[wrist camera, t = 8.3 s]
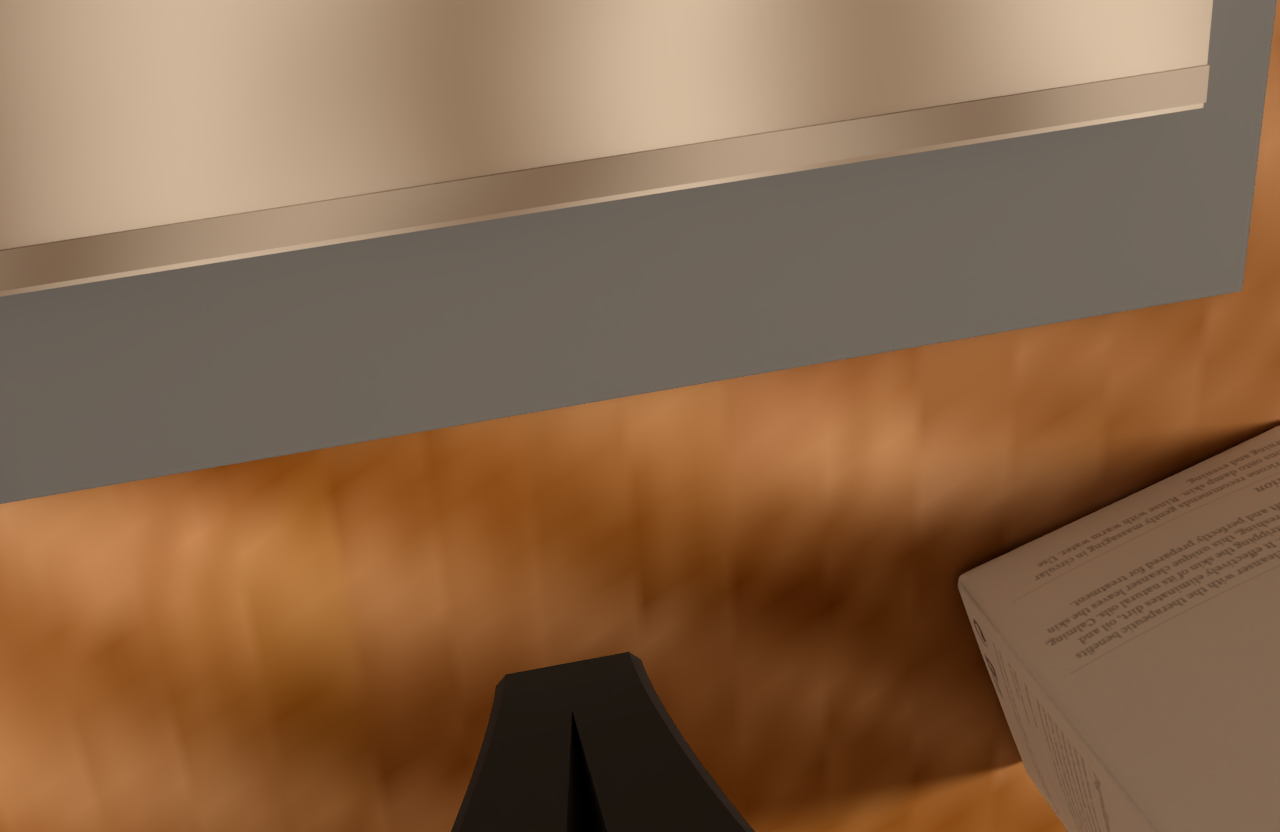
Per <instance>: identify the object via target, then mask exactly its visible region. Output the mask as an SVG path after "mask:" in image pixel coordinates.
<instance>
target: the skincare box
mask: <svg viewBox="0 0 1280 832" xmlns="http://www.w3.org/2000/svg"><path fill="white" fill-rule="evenodd" d="M958 589H959V592H960V595H961V597H962V600H963V603H964V606H965V609H966V612H967V615H968V618H969V620H970V623H971V626H972V629H973V632H974V634H975V637H976V640H977V643H978V646H979V648H980V651H981V654H982V657H983V659H984V662H985V665H986V667H987V670H988V672H989V675H990V677H991V680H992V683H993V685H994V688H995V690H996V693H997V696H998V698H999V701H1000V704H1001V707H1002V709H1003V712H1004V715H1005V717H1006V720H1007V723H1008V726H1009V728H1010V731H1011V733H1012V736H1013V738H1014V741H1015V743H1016V746H1017V749H1018V751H1019V754H1020V756H1021V759H1022V761H1023V764H1024V766H1025V769H1026V771H1027V774H1028V775H1029V777H1030V778H1031V779H1032V781H1033V782H1034V784H1035V785H1036V787H1037V788H1038V789H1039V791H1040V792H1041V794H1042V795H1043V797H1044V798H1045V799H1046V801H1047V802H1048V804H1049V805H1050V807H1051V808H1052V809H1053V811H1054V812H1055V814H1056V815H1057V816H1058V818H1059V819H1060V821H1061V822H1062V824H1063V825H1064V826H1065V828H1066V829H1067V831H1068V832H1280V425H1279V426H1277V427H1275V428H1272V429H1270V430H1268V431H1266V432H1264V433H1262V434H1260V435H1258V436H1256V437H1254V438H1251V439H1249V440H1247V441H1245V442H1243V443H1241V444H1239V445H1237V446H1234V447H1232V448H1230V449H1228V450H1226V451H1224V452H1222V453H1220V454H1217V455H1215V456H1213V457H1211V458H1209V459H1207V460H1205V461H1203V462H1200V463H1198V464H1196V465H1194V466H1192V467H1190V468H1188V469H1186V470H1183V471H1181V472H1179V473H1177V474H1175V475H1173V476H1171V477H1168V478H1166V479H1164V480H1162V481H1160V482H1158V483H1156V484H1153V485H1151V486H1149V487H1147V488H1145V489H1143V490H1141V491H1138V492H1136V493H1134V494H1132V495H1130V496H1128V497H1126V498H1123V499H1121V500H1119V501H1117V502H1115V503H1113V504H1111V505H1108V506H1106V507H1104V508H1102V509H1100V510H1098V511H1096V512H1093V513H1091V514H1089V515H1087V516H1085V517H1083V518H1081V519H1078V520H1076V521H1074V522H1072V523H1070V524H1068V525H1066V526H1063V527H1061V528H1059V529H1057V530H1055V531H1053V532H1050V533H1048V534H1046V535H1044V536H1042V537H1040V538H1037V539H1035V540H1033V541H1031V542H1029V543H1027V544H1024V545H1022V546H1020V547H1018V548H1016V549H1014V550H1012V551H1010V552H1008V553H1006V554H1004V555H1002V556H999V557H997V558H995V559H993V560H991V561H988V562H986V563H984V564H982V565H980V566H978V567H976V568H974V569H971V570H969V571H967V572H965V573H963V574H962V575H961V576H960V577H959V580H958Z"/></svg>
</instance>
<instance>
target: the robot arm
mask: <svg viewBox="0 0 1280 832" xmlns="http://www.w3.org/2000/svg"><path fill="white" fill-rule="evenodd" d="M451 832H755V831H754V830H753V829H752V828H751V827H750V825H749V824H748V823H747V822H746V821H745V819H744V818H743V817H742V816H741V814H740V813H739V812H738V811H737V810H736V808H735V807H734V806H733V805H732V803H731V802H730V801H729V800H728V798H727V797H726V796H725V794H724V793H723V792H722V790H721V789H720V788H719V786H718V785H717V784H716V782H715V781H714V780H713V778H712V777H711V776H710V774H709V773H708V772H707V770H706V769H705V768H704V766H703V765H702V764H701V762H700V761H699V760H698V758H697V757H696V755H695V754H694V753H693V751H692V750H691V748H690V747H689V745H688V744H687V742H686V741H685V740H684V738H683V736H682V735H681V733H680V732H679V730H678V729H677V727H676V725H675V724H674V722H673V721H672V719H671V718H670V716H669V714H668V713H667V711H666V710H665V708H664V706H663V704H662V703H661V701H660V699H659V697H658V696H657V694H656V692H655V690H654V688H653V686H652V684H651V682H650V680H649V678H648V676H647V674H646V671H645V669H644V666H643V664H642V661H641V659H639V658H637V657H636V656H634V655H633V654H631V653H630V652H626V653H621V654H615V655H610V656H605V657H599V658H594V659H588V660H583V661H577V662H572V663H567V664H561V665H556V666H550V667H545V668H539V669H534V670H529V671H523V672H518V673H512V674H507V675H505V676H504V678H503V679H502V680H501V681H500V682H499V684H498V685H497V686H496V691H495V697H494V702H493V707H492V711H491V715H490V719H489V723H488V727H487V731H486V734H485V737H484V741H483V744H482V748H481V751H480V754H479V757H478V760H477V763H476V766H475V769H474V772H473V775H472V778H471V781H470V784H469V786H468V789H467V791H466V794H465V797H464V799H463V802H462V805H461V807H460V810H459V813H458V815H457V818H456V820H455V823H454V826H453V828H452V831H451Z"/></svg>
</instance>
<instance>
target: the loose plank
mask: <svg viewBox="0 0 1280 832" xmlns="http://www.w3.org/2000/svg"><path fill="white" fill-rule="evenodd" d="M1212 7H1213V0H0V297H1V296H8V295H14V294H20V293H27V292H33V291H40V290H46V289H52V288H59V287H65V286H71V285H78V284H84V283H91V282H97V281H103V280H110V279H116V278H122V277H129V276H135V275H141V274H148V273H154V272H161V271H167V270H173V269H180V268H186V267H192V266H199V265H205V264H212V263H218V262H224V261H231V260H237V259H243V258H250V257H256V256H263V255H269V254H275V253H282V252H288V251H294V250H301V249H307V248H313V247H320V246H326V245H333V244H339V243H345V242H352V241H358V240H364V239H371V238H377V237H384V236H390V235H396V234H403V233H409V232H415V231H422V230H428V229H435V228H441V227H447V226H454V225H460V224H466V223H473V222H479V221H485V220H492V219H498V218H505V217H511V216H517V215H524V214H530V213H536V212H543V211H549V210H556V209H562V208H568V207H575V206H581V205H587V204H594V203H600V202H607V201H613V200H619V199H626V198H632V197H638V196H645V195H651V194H657V193H664V192H670V191H677V190H683V189H689V188H696V187H702V186H708V185H715V184H721V183H728V182H734V181H740V180H747V179H753V178H759V177H766V176H772V175H779V174H785V173H791V172H798V171H804V170H810V169H817V168H823V167H830V166H836V165H842V164H849V163H855V162H861V161H868V160H874V159H880V158H887V157H893V156H900V155H906V154H912V153H919V152H925V151H931V150H938V149H944V148H951V147H957V146H963V145H970V144H976V143H982V142H989V141H995V140H1002V139H1008V138H1014V137H1021V136H1027V135H1033V134H1040V133H1046V132H1052V131H1059V130H1065V129H1072V128H1078V127H1084V126H1091V125H1097V124H1103V123H1110V122H1116V121H1123V120H1129V119H1135V118H1142V117H1148V116H1154V115H1161V114H1167V113H1174V112H1180V111H1186V110H1193V109H1199V108H1203V104H1204V103H1206V100H1207V89H1208V78H1209V68H1210V65H1207V61H1208V50H1209V39H1210V29H1211V18H1212Z"/></svg>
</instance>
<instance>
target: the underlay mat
mask: <svg viewBox="0 0 1280 832" xmlns="http://www.w3.org/2000/svg"><path fill="white" fill-rule="evenodd" d="M1276 2H1277V0H1213V7H1212V18H1211V29H1210V39H1209V50H1208V61H1207V65H1210V68H1209V78H1208V89H1207V100H1206V103H1204V104H1203V108H1199V109H1193V110H1186V111H1180V112H1174V113H1167V114H1161V115H1154V116H1148V117H1142V118H1135V119H1129V120H1123V121H1116V122H1110V123H1103V124H1097V125H1091V126H1084V127H1078V128H1072V129H1065V130H1059V131H1052V132H1046V133H1040V134H1033V135H1027V136H1021V137H1014V138H1008V139H1002V140H995V141H989V142H982V143H976V144H970V145H963V146H957V147H951V148H944V149H938V150H931V151H925V152H919V153H912V154H906V155H900V156H893V157H887V158H880V159H874V160H868V161H861V162H855V163H849V164H842V165H836V166H830V167H823V168H817V169H810V170H804V171H798V172H791V173H785V174H779V175H772V176H766V177H759V178H753V179H747V180H740V181H734V182H728V183H721V184H715V185H708V186H702V187H696V188H689V189H683V190H677V191H670V192H664V193H657V194H651V195H645V196H638V197H632V198H626V199H619V200H613V201H607V202H600V203H594V204H587V205H581V206H575V207H568V208H562V209H556V210H549V211H543V212H536V213H530V214H524V215H517V216H511V217H505V218H498V219H492V220H485V221H479V222H473V223H466V224H460V225H454V226H447V227H441V228H435V229H428V230H422V231H415V232H409V233H403V234H396V235H390V236H384V237H377V238H371V239H364V240H358V241H352V242H345V243H339V244H333V245H326V246H320V247H313V248H307V249H301V250H294V251H288V252H282V253H275V254H269V255H263V256H256V257H250V258H243V259H237V260H231V261H224V262H218V263H212V264H205V265H199V266H192V267H186V268H180V269H173V270H167V271H161V272H154V273H148V274H141V275H135V276H129V277H122V278H116V279H110V280H103V281H97V282H91V283H84V284H78V285H71V286H65V287H59V288H52V289H46V290H40V291H33V292H27V293H20V294H14V295H8V296H1V297H0V504H2V503H8V502H14V501H20V500H26V499H31V498H37V497H43V496H49V495H55V494H61V493H66V492H72V491H78V490H84V489H90V488H96V487H101V486H107V485H113V484H119V483H125V482H131V481H136V480H142V479H148V478H154V477H160V476H166V475H171V474H177V473H183V472H189V471H195V470H201V469H206V468H212V467H218V466H224V465H230V464H236V463H241V462H247V461H253V460H259V459H265V458H271V457H276V456H282V455H288V454H294V453H300V452H306V451H311V450H317V449H323V448H329V447H335V446H340V445H346V444H352V443H358V442H364V441H370V440H375V439H381V438H387V437H393V436H399V435H405V434H410V433H416V432H422V431H428V430H434V429H440V428H445V427H451V426H457V425H463V424H469V423H475V422H480V421H486V420H492V419H498V418H504V417H510V416H515V415H521V414H527V413H533V412H539V411H545V410H550V409H556V408H562V407H568V406H574V405H580V404H585V403H591V402H597V401H603V400H609V399H615V398H620V397H626V396H632V395H638V394H644V393H650V392H655V391H661V390H667V389H673V388H679V387H685V386H690V385H696V384H702V383H708V382H714V381H720V380H725V379H731V378H737V377H743V376H749V375H755V374H760V373H766V372H772V371H778V370H784V369H790V368H795V367H801V366H807V365H813V364H819V363H825V362H830V361H836V360H842V359H848V358H854V357H860V356H865V355H871V354H877V353H883V352H889V351H895V350H900V349H906V348H912V347H918V346H924V345H930V344H935V343H941V342H947V341H953V340H959V339H964V338H970V337H976V336H982V335H988V334H994V333H999V332H1005V331H1011V330H1017V329H1023V328H1029V327H1034V326H1040V325H1046V324H1052V323H1058V322H1064V321H1069V320H1075V319H1081V318H1087V317H1093V316H1099V315H1104V314H1110V313H1116V312H1122V311H1128V310H1134V309H1139V308H1145V307H1151V306H1157V305H1163V304H1169V303H1174V302H1180V301H1186V300H1192V299H1198V298H1204V297H1209V296H1215V295H1221V294H1227V293H1233V292H1239V291H1242V286H1243V278H1244V269H1245V261H1246V253H1247V244H1248V236H1249V228H1250V219H1251V211H1252V203H1253V194H1254V186H1255V177H1256V169H1257V161H1258V152H1259V144H1260V136H1261V127H1262V119H1263V110H1264V102H1265V94H1266V85H1267V77H1268V69H1269V60H1270V52H1271V44H1272V35H1273V27H1274V18H1275V10H1276Z"/></svg>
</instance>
